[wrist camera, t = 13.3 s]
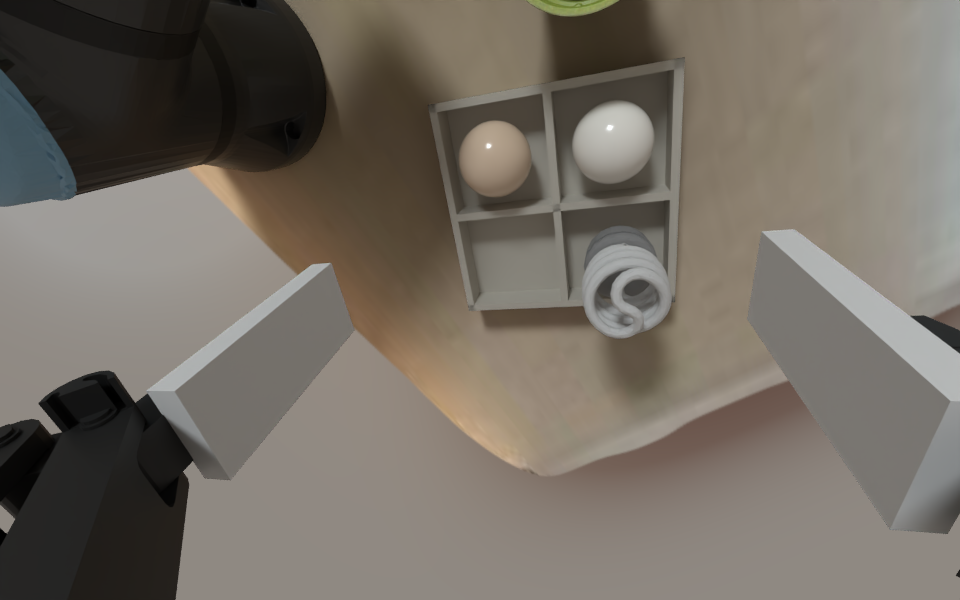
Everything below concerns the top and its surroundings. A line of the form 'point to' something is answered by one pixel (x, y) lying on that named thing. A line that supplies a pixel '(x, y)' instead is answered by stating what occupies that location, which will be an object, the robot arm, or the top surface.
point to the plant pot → (571, 6)
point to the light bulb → (624, 283)
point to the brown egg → (495, 158)
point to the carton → (559, 187)
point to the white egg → (613, 142)
